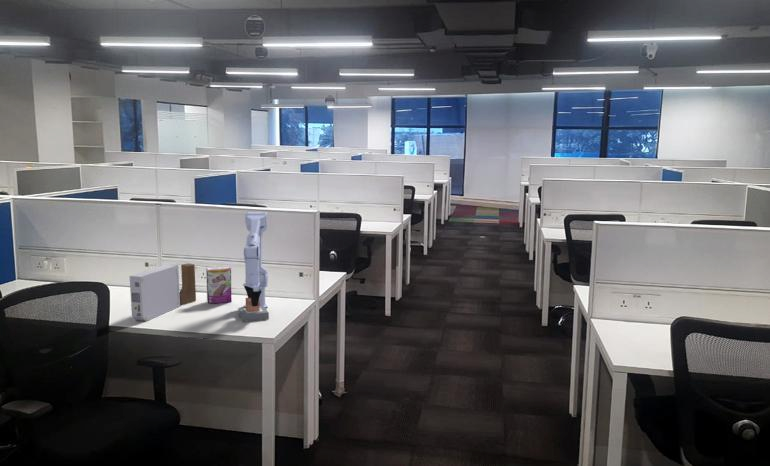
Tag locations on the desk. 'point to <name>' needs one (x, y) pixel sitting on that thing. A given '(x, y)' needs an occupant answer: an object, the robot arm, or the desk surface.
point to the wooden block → (188, 284)
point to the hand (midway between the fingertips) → (253, 303)
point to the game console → (154, 292)
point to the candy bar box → (218, 285)
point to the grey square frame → (253, 314)
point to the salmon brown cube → (250, 307)
